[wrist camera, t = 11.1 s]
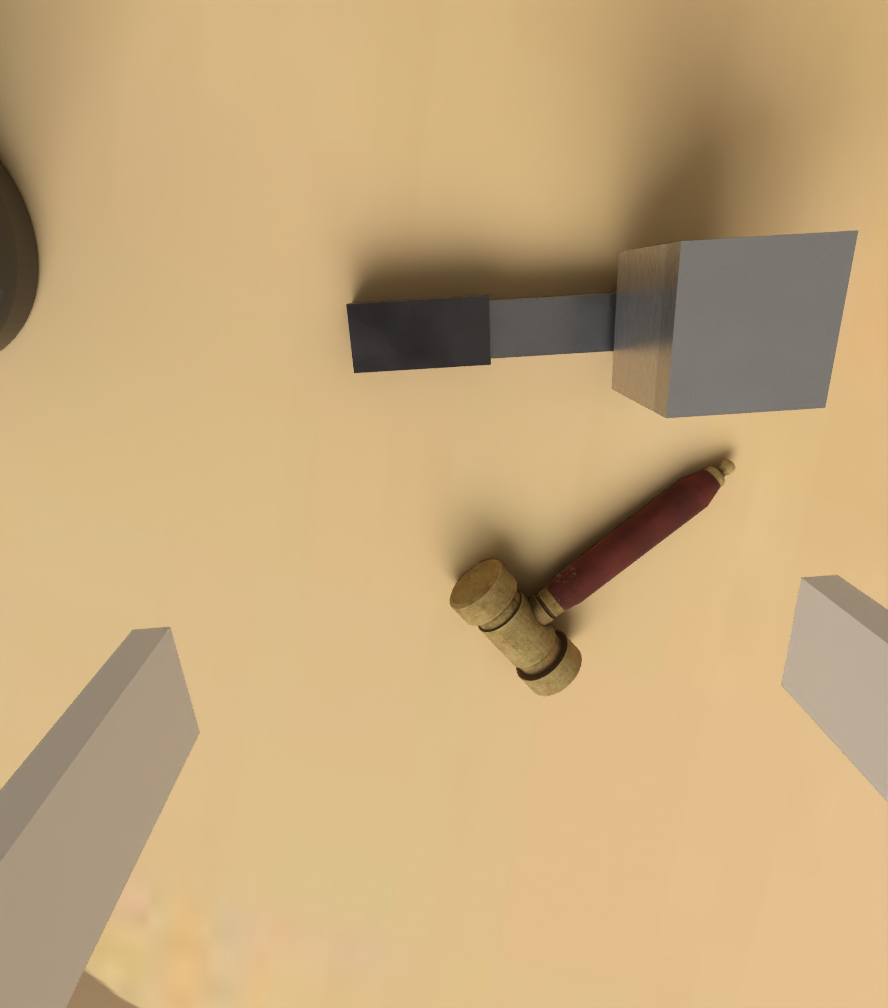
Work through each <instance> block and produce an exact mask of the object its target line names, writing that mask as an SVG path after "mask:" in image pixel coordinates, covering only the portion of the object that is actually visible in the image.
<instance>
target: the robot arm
mask: <svg viewBox="0 0 888 1008" xmlns="http://www.w3.org/2000/svg"><path fill="white" fill-rule="evenodd" d="M37 281H38V256H37V247H36V242H35V236H34V232H33V228H32V225H31V222H30V218H29V215H28V213H27V210H26V208H25V205H24V203H23V200H22V198H21V196H20V194H19V192H18V190H17V188H16V186H15V184H14V182H13V181H12V179H11V177H10V176H9V174H8V172H7V171H6V169H5V168H4V166H3V165H2V163H1V162H0V351H1V350H2V349H4V348H5V347H6V346H7V345H8V344H9V343H10V342H11V341H12V340H13V339H14V338H15V337H16V335H17V334H18V333H19V331H20V330H21V328H22V327H23V325H24V324H25V322H26V320H27V318H28V316H29V313H30V311H31V308H32V305H33V302H34V299H35V294H36V289H37ZM781 685H782V686H783V688H784V689H785V690H786V691H787V692H788V693H789V694H790V695H791V696H792V697H793V699H794V700H795V701H796V702H797V703H798V704H799V705H800V706H801V707H802V709H803V710H804V711H805V712H806V713H807V714H808V715H809V716H810V717H811V718H812V720H813V721H814V722H815V723H816V724H817V725H818V726H819V727H820V728H821V729H822V731H823V732H824V733H825V734H826V735H827V736H828V737H829V738H830V739H831V740H832V742H833V743H834V744H835V745H836V746H837V747H838V748H839V749H840V750H841V751H842V753H843V754H844V755H845V756H846V757H847V758H848V759H849V760H850V761H851V762H852V764H853V765H854V766H855V767H856V768H857V769H858V770H859V771H860V772H861V773H862V775H863V776H864V777H865V778H866V779H867V780H868V781H869V782H870V783H871V785H872V786H873V787H874V788H875V789H876V790H877V791H878V792H879V793H880V794H881V796H882V797H883V798H884V799H885V800H886V801H887V802H888V610H887V609H886V608H884V607H883V606H882V605H880V604H879V603H877V602H876V601H874V600H873V599H871V598H870V597H869V596H867V595H866V594H864V593H863V592H861V591H860V590H858V589H857V588H856V587H854V586H853V585H851V584H850V583H848V582H847V581H845V580H844V579H843V578H841V577H840V576H838V575H830V576H817V577H804V578H801V582H800V587H799V592H798V598H797V603H796V608H795V614H794V619H793V625H792V630H791V635H790V641H789V646H788V651H787V657H786V662H785V667H784V673H783V678H782V683H781ZM199 733H200V732H199V728H198V725H197V721H196V717H195V714H194V710H193V707H192V703H191V700H190V696H189V692H188V689H187V685H186V682H185V678H184V674H183V671H182V667H181V664H180V660H179V657H178V653H177V649H176V646H175V642H174V639H173V635H172V632H171V628H170V627H163V628H150V629H137V630H132V631H131V632H130V634H129V635H128V636H127V637H126V638H125V640H124V641H123V642H122V643H121V645H120V646H119V647H118V648H117V649H116V651H115V652H114V653H113V654H112V655H111V657H110V658H109V659H108V660H107V662H106V663H105V664H104V665H103V666H102V668H101V669H100V670H99V671H98V672H97V674H96V675H95V676H94V677H93V678H92V680H91V681H90V682H89V683H88V685H87V686H86V687H85V688H84V689H83V691H82V692H81V693H80V694H79V695H78V697H77V698H76V699H75V700H74V701H73V703H72V704H71V705H70V706H69V708H68V709H67V710H66V711H65V712H64V714H63V715H62V716H61V717H60V718H59V720H58V721H57V722H56V723H55V725H54V726H53V727H52V728H51V729H50V731H49V732H48V733H47V734H46V735H45V737H44V738H43V739H42V740H41V741H40V743H39V744H38V745H37V746H36V748H35V749H34V750H33V751H32V752H31V754H30V755H29V756H28V757H27V758H26V760H25V761H24V762H23V763H22V765H21V766H20V767H19V768H18V769H17V771H16V772H15V773H14V774H13V775H12V777H11V778H10V779H9V780H8V781H7V783H6V784H5V785H4V786H3V788H2V789H1V790H0V1008H66V1006H67V1004H68V1002H69V1000H70V998H71V996H72V993H73V992H74V990H75V988H76V985H77V983H78V981H79V979H80V977H81V975H82V973H83V971H84V969H85V967H86V965H87V963H88V961H89V959H90V957H91V955H92V953H93V951H94V948H95V946H96V944H97V942H98V940H99V938H100V936H101V934H102V932H103V930H104V928H105V926H106V924H107V922H108V920H109V918H110V916H111V914H112V911H113V909H114V907H115V905H116V903H117V901H118V899H119V897H120V895H121V893H122V891H123V889H124V887H125V885H126V883H127V881H128V879H129V877H130V874H131V872H132V870H133V868H134V866H135V864H136V862H137V860H138V858H139V856H140V854H141V852H142V850H143V848H144V846H145V844H146V842H147V840H148V838H149V835H150V833H151V831H152V829H153V827H154V825H155V823H156V821H157V819H158V817H159V815H160V813H161V811H162V809H163V807H164V805H165V803H166V801H167V798H168V796H169V794H170V792H171V790H172V788H173V786H174V784H175V782H176V780H177V778H178V776H179V774H180V772H181V770H182V768H183V766H184V764H185V761H186V759H187V757H188V755H189V753H190V751H191V749H192V747H193V745H194V743H195V741H196V739H197V737H198V735H199Z"/></svg>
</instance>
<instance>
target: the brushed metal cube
mask: <svg viewBox="0 0 888 1008" xmlns="http://www.w3.org/2000/svg"><path fill="white" fill-rule="evenodd" d="M857 234H858V231H841V232H825V233H808V234H791V235H775V236H758V237H741V238H725V239H708V240H692V241H679V242H673V243H667V244H661V245H656V246H650V247H644V248H638V249H632V250H626V251H621V252H619V254H618V275H617V295H616V315H615V335H614V355H613V376H612V389H613V390H615V391H617V392H618V393H620V394H622V395H624V396H626V397H628V398H630V399H631V400H633V401H635V402H637V403H639V404H641V405H643V406H644V407H646V408H648V409H650V410H652V411H654V412H656V413H658V414H659V415H661V416H663V417H665V418H675V417H691V416H706V415H721V414H737V413H752V412H767V411H782V410H798V409H813V408H825V406H826V400H827V395H828V390H829V384H830V379H831V373H832V368H833V363H834V357H835V352H836V347H837V341H838V336H839V330H840V325H841V320H842V314H843V309H844V304H845V298H846V293H847V288H848V282H849V277H850V271H851V266H852V261H853V255H854V250H855V245H856V239H857Z"/></svg>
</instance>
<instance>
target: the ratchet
mask: <svg viewBox="0 0 888 1008" xmlns="http://www.w3.org/2000/svg"><path fill="white" fill-rule="evenodd" d="M616 295H617V285H616V287H615V288H614V290H613V292H611V293H594V294H577V295H561V296H544V297H527V298H511V299H494V300H489V295H473V296H457V297H440V298H423V299H407V300H390V301H373V302H357V303H349V304H347V313H348V322H349V331H350V340H351V349H352V358H353V367H354V373H362V372H378V371H394V370H410V369H427V368H443V367H459V366H475V365H491V358H505V357H522V356H538V355H554V354H570V353H586V352H602V351H613V353H614V335H615V315H616Z"/></svg>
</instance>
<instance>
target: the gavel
mask: <svg viewBox="0 0 888 1008" xmlns="http://www.w3.org/2000/svg"><path fill="white" fill-rule="evenodd" d="M734 470H735V465H734V463H733V462H732V461H730V460H728V459H727V460H723V461H722V462H720V464H719V465H718V467H717V468H714V467H712V466H710V467H707V468H706V469H704V470H702V471H699V472H696V473H694V474H691V475H688V476H685V477H683V478H681V479H680V480H678V481H677V482H676V483H674V484H673V485H672V486H670V487H669V488H668V489H667V490H665V491H664V492H663V493H661V494H660V495H659V496H658V497H656V498H655V499H654V500H652V501H651V502H650V503H648V504H647V505H646V506H645V507H643V508H642V509H641V510H639V511H638V512H637V513H636V514H634V515H633V516H632V517H630V518H629V519H628V520H626V521H625V522H624V523H623V524H621V525H620V526H619V527H617V528H616V529H615V530H614V531H612V532H611V533H610V534H608V535H607V536H606V537H605V538H603V539H602V540H601V541H599V542H598V543H597V544H595V545H594V546H593V547H592V548H590V549H589V550H588V551H586V552H585V553H584V554H583V555H581V556H580V557H579V558H577V559H576V560H575V561H573V562H572V563H571V564H570V565H568V566H567V567H566V568H564V569H563V570H562V571H561V572H559V573H558V574H557V575H556V576H555V577H554V578H553V579H552V581H551V582H550V583H549V584H548V585H547V586H546V587H545V588H543V589H542V590H541V591H539V592H538V594H539V595H538V596H536V595H534V596H532V597H531V598H530V599H527V598H526V597H525V596H524V595H523V594H522V592H521V591H519V590H517V582H516V579H515V578H514V577H513V576H512V575H511V574H510V573H509V571H508V570H507V569H506V568H505V567H504V566H503V565H502V564H501V562H500V561H498V560H496V559H490V560H486V561H483V562H480V563H479V564H477V565H476V566H475V567H473V568H472V569H471V570H469V571H468V572H467V573H465V574H464V575H463V576H462V577H461V578H460V579H459V580H458V582H457V583H456V585H455V586H454V588H453V591H452V593H451V596H450V605H451V607H452V608H453V609H454V610H455V611H456V612H457V613H458V614H459V615H460V616H461V617H462V618H463V619H464V620H465V621H466V622H467V623H468V624H469V625H472V626H478V627H479V629H480V630H481V631H482V632H483V633H484V634H485V635H486V636H487V638H488V639H489V640H490V641H491V642H492V643H493V644H494V645H495V646H496V647H497V648H498V649H499V650H500V651H501V652H502V653H503V654H504V655H505V656H506V657H507V658H508V659H509V660H510V661H511V662H512V664H513V665H515V666H516V670H517V674H518V676H519V677H520V678H521V679H522V680H523V681H524V682H525V683H526V684H527V685H528V686H529V687H530V688H531V689H532V690H533V691H534V692H535V693H536V694H538V695H540V696H550V695H554V694H556V693H558V692H560V691H562V690H563V689H565V688H566V687H567V686H568V685H569V684H570V683H571V682H572V681H573V680H574V679H575V677H576V676H577V674H578V672H579V670H580V667H581V662H582V657H581V653H580V651H579V650H578V649H577V647H576V646H575V645H574V644H573V643H572V642H571V641H570V640H569V638H568V637H567V636H566V635H565V634H564V633H563V632H561V631H558V630H554V628H553V627H552V626H551V625H550V624H549V623H550V622H551V621H553V620H554V619H553V617H554V616H556V617H557V616H558V615H560V614H561V613H562V612H564V611H565V610H567V609H569V608H571V607H573V606H575V605H577V604H579V603H580V602H582V601H583V600H585V599H586V598H587V597H589V596H590V595H591V594H592V593H594V592H595V591H596V590H598V589H599V588H600V587H602V586H603V585H604V584H606V583H607V582H608V581H610V580H611V579H612V578H614V577H615V576H616V575H617V574H619V573H620V572H621V571H623V570H624V569H625V568H627V567H628V566H629V565H631V564H632V563H633V562H635V561H636V560H637V559H639V558H640V557H641V556H643V555H644V554H645V553H646V552H648V551H649V550H650V549H652V548H653V547H654V546H656V545H657V544H658V543H660V542H661V541H662V540H664V539H665V538H666V537H668V536H669V535H670V534H671V533H673V532H674V531H675V530H677V529H678V528H679V527H681V526H682V525H683V524H685V523H686V522H687V521H689V520H690V519H691V518H693V517H694V516H695V515H697V514H698V513H699V512H700V511H702V510H703V509H704V508H706V507H707V506H708V505H709V503H710V502H711V500H712V499H713V497H714V496H715V494H716V493H717V491H718V490H719V488H720V487H721V486H722V485H724V483H725V479H724V476H726V475H729V474H731V473H732V472H733V471H734Z"/></svg>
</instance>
